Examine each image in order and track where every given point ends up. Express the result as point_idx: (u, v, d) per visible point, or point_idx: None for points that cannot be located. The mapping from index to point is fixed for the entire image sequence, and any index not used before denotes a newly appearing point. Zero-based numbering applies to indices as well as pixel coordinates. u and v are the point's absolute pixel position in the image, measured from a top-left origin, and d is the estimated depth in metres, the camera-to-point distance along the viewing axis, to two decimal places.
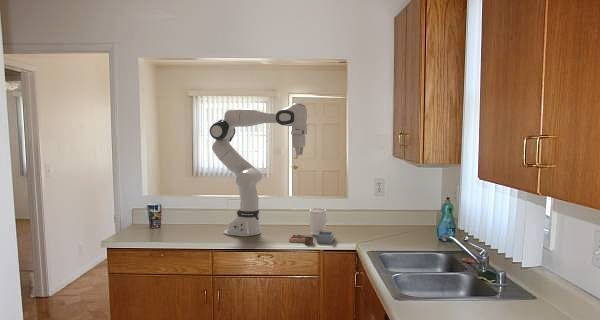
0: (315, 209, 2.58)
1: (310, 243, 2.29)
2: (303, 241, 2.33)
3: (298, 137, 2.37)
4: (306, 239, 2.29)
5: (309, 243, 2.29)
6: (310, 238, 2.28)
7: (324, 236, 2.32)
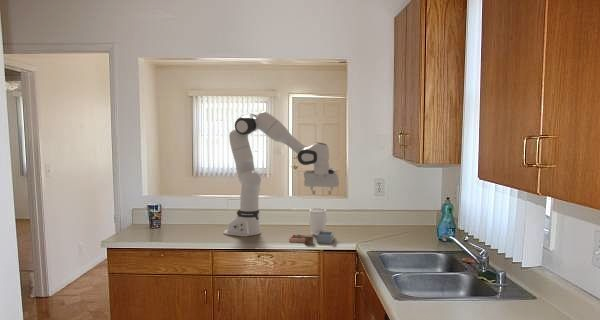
0: (315, 209, 2.58)
1: (310, 243, 2.29)
2: (303, 241, 2.33)
3: None
4: (306, 239, 2.29)
5: (309, 243, 2.29)
6: (310, 238, 2.28)
7: (324, 236, 2.32)
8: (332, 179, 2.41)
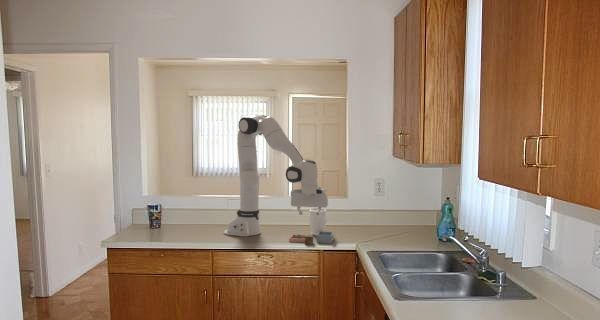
0: (315, 209, 2.58)
1: (310, 243, 2.29)
2: (303, 241, 2.33)
3: (326, 196, 2.28)
4: (306, 239, 2.29)
5: (309, 243, 2.29)
6: (310, 238, 2.28)
7: (324, 236, 2.32)
8: (320, 199, 2.26)
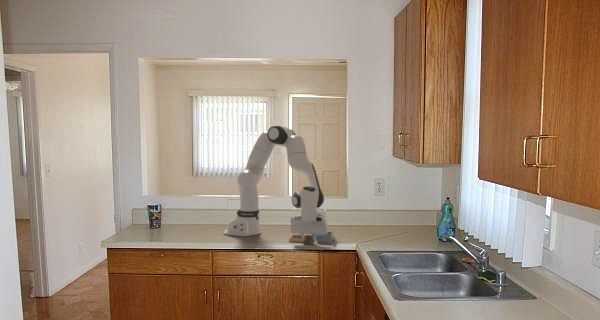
0: None
1: (310, 243, 2.29)
2: None
3: (326, 223, 2.30)
4: (306, 239, 2.29)
5: (309, 243, 2.29)
6: (310, 238, 2.28)
7: (324, 236, 2.32)
8: (320, 227, 2.27)
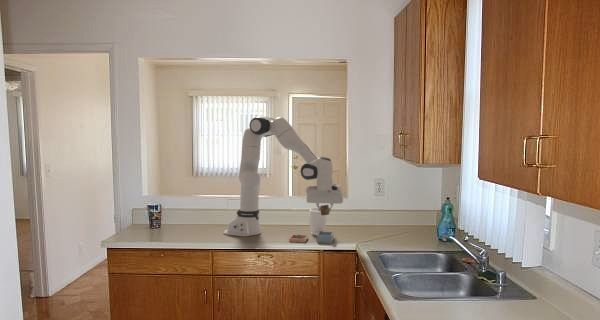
0: (315, 209, 2.58)
1: (326, 212, 2.32)
2: (303, 241, 2.33)
3: (341, 192, 2.33)
4: (322, 209, 2.33)
5: (325, 212, 2.32)
6: (325, 207, 2.32)
7: (324, 236, 2.32)
8: (336, 195, 2.31)
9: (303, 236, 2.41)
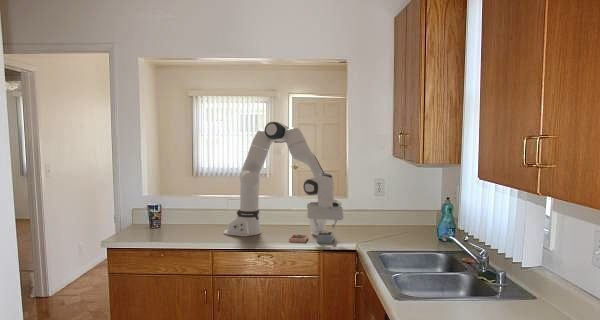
0: None
1: None
2: (303, 241, 2.33)
3: (342, 208, 2.34)
4: None
5: None
6: (326, 234, 2.34)
7: (324, 236, 2.32)
8: (336, 212, 2.32)
9: (303, 236, 2.41)
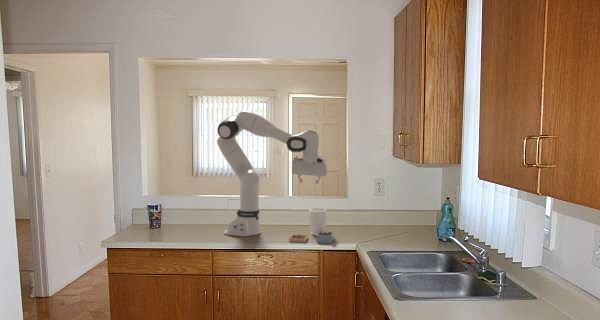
0: (315, 209, 2.58)
1: None
2: (303, 241, 2.33)
3: (326, 165, 2.40)
4: None
5: None
6: (326, 234, 2.34)
7: (324, 236, 2.32)
8: (320, 168, 2.38)
9: (303, 236, 2.41)
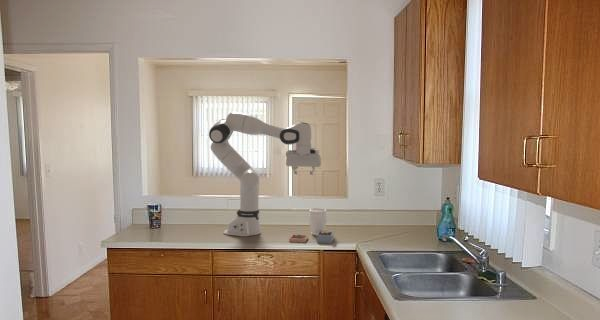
0: (315, 209, 2.58)
1: None
2: (303, 241, 2.33)
3: None
4: None
5: None
6: (326, 234, 2.34)
7: (324, 236, 2.32)
8: (314, 159, 2.40)
9: (303, 236, 2.41)
